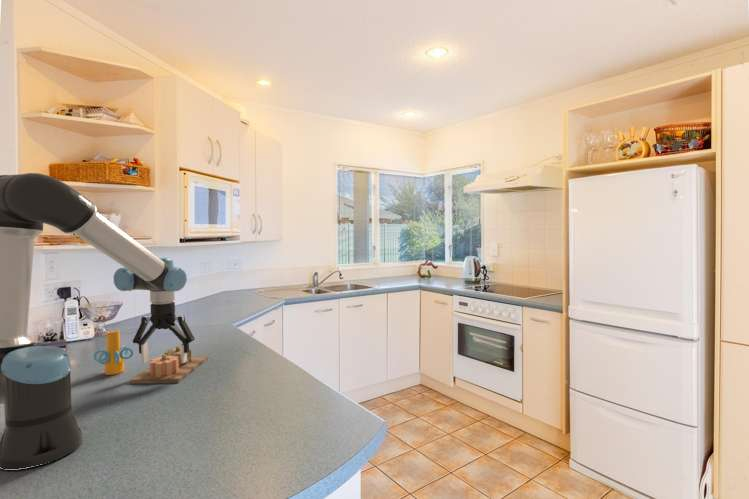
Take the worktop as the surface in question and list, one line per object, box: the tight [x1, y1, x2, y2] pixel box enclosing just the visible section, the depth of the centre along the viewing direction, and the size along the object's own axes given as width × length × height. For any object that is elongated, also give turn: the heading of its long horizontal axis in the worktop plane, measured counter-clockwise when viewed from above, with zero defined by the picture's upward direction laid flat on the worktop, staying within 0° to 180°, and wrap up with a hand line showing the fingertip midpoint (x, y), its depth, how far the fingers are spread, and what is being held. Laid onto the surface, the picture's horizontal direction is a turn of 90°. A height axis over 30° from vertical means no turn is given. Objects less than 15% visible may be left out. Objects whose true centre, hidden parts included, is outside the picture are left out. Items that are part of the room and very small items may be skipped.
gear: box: [149, 355, 179, 377], centre depth 139 cm, size 9×9×4 cm
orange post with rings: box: [93, 329, 134, 376], centre depth 142 cm, size 12×10×15 cm
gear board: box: [129, 345, 208, 384], centre depth 144 cm, size 24×16×7 cm, turn 1°
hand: (164, 362), depth 139 cm, fingers open, 13 cm apart
